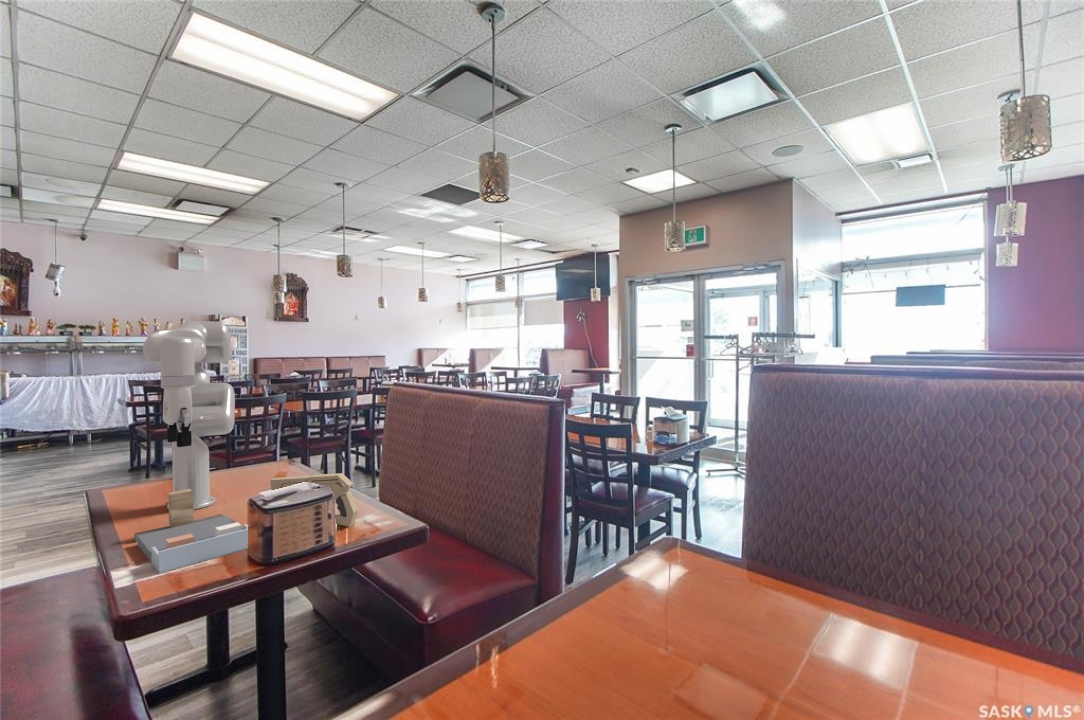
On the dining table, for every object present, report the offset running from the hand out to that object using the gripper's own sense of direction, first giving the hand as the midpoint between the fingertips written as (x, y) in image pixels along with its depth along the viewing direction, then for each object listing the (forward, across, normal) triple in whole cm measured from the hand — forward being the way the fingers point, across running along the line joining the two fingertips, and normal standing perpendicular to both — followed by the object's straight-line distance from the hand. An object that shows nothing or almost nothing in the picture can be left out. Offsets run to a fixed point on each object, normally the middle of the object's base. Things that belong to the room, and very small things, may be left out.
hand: (179, 443), depth 134 cm
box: (+24, +23, 0) cm, 33 cm away
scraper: (+24, 0, 0) cm, 25 cm away
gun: (+25, +22, +27) cm, 43 cm away
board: (+24, +11, 0) cm, 27 cm away
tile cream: (+21, +21, +5) cm, 30 cm away
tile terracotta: (+21, +21, -5) cm, 30 cm away
